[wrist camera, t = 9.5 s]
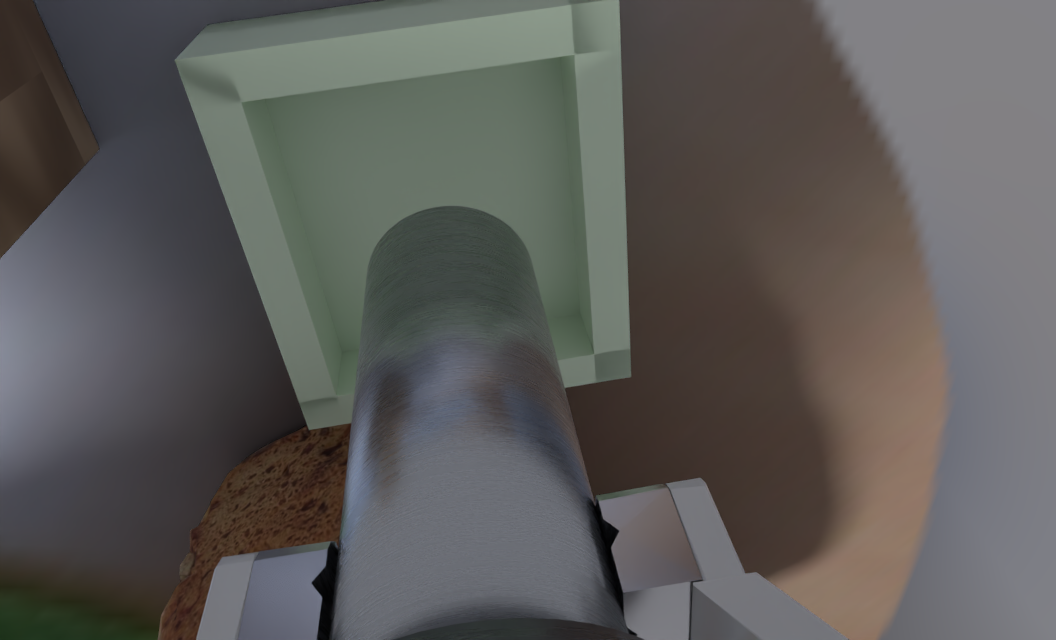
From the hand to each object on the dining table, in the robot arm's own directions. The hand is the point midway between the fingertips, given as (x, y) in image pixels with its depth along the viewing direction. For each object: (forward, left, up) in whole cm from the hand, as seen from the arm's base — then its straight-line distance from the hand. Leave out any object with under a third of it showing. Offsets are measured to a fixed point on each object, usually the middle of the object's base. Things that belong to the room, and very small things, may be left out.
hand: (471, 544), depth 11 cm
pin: (0, 0, -7) cm, 7 cm away
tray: (0, 0, -12) cm, 12 cm away
